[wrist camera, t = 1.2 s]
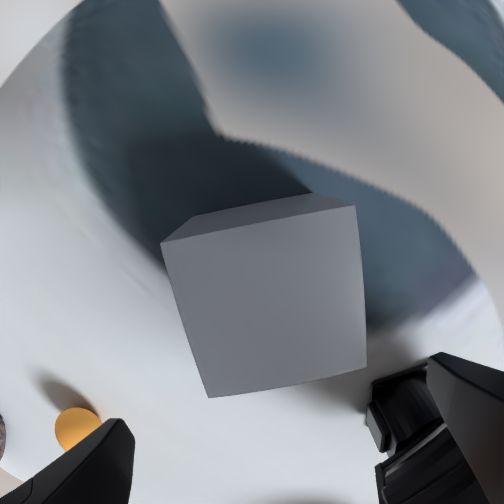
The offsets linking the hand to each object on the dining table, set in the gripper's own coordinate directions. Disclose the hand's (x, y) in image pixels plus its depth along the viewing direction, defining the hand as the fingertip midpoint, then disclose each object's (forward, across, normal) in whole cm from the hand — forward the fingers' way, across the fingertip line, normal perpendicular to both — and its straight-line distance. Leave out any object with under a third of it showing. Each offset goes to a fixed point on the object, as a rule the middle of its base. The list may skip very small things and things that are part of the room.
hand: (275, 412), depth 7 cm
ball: (+10, +19, +11) cm, 24 cm away
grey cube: (+13, 0, 0) cm, 13 cm away
